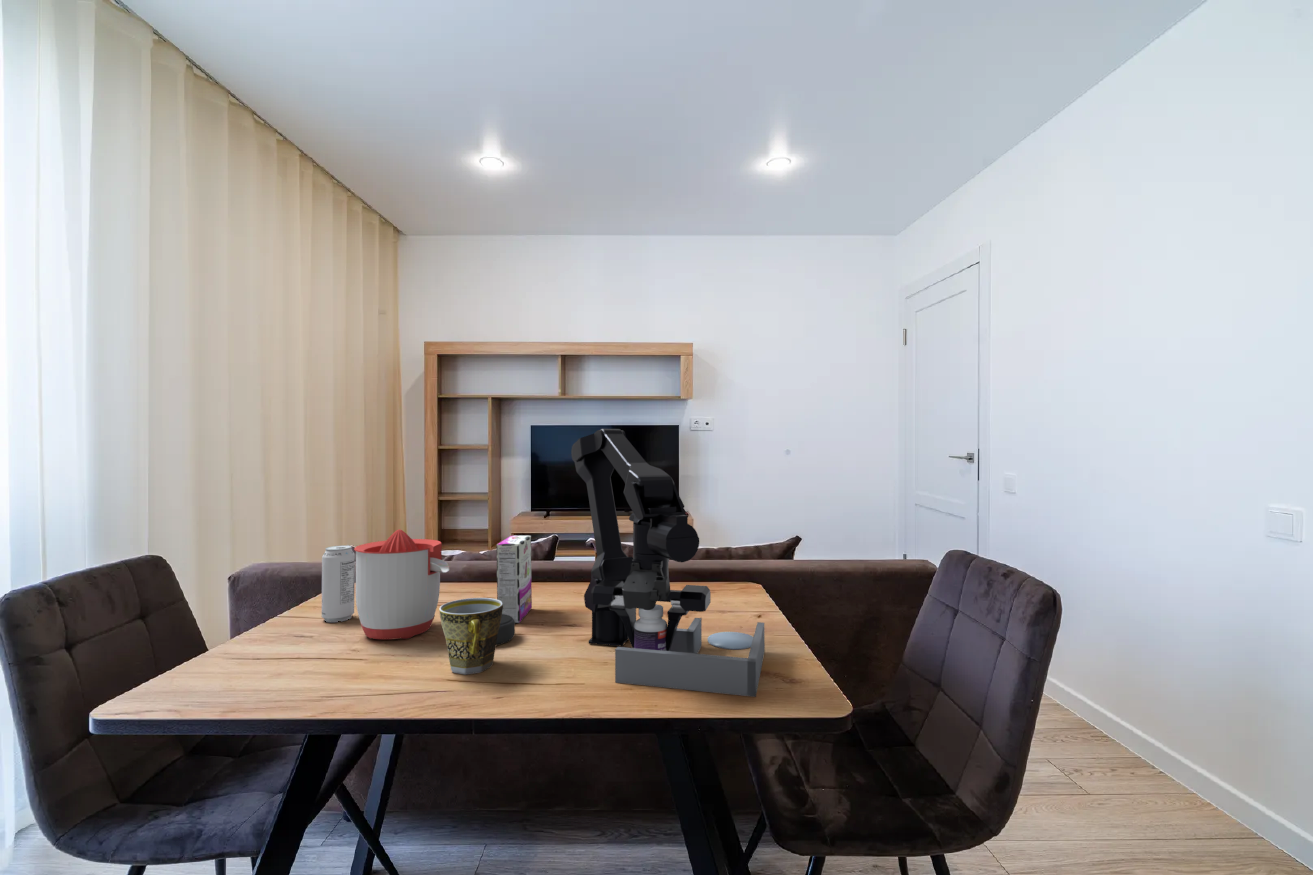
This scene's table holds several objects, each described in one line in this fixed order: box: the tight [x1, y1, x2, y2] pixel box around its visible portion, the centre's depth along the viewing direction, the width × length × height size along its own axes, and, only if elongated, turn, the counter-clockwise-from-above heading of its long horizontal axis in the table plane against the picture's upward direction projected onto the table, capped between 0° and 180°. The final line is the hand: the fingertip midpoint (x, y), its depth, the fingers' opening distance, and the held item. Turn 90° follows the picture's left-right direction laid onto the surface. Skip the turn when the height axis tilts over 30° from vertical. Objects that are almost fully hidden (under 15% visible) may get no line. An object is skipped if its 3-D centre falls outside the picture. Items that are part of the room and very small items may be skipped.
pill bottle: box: [634, 603, 668, 651], centre depth 93 cm, size 5×5×10 cm
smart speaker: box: [496, 614, 516, 646], centre depth 108 cm, size 9×9×4 cm
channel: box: [614, 617, 766, 698], centre depth 95 cm, size 21×19×5 cm
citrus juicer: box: [353, 528, 450, 640], centre depth 113 cm, size 16×17×20 cm
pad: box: [707, 631, 754, 651], centre depth 107 cm, size 9×9×1 cm
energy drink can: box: [321, 545, 356, 623], centre depth 121 cm, size 6×6×15 cm
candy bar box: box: [496, 534, 533, 624], centre depth 123 cm, size 11×5×16 cm, turn 179°
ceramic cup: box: [438, 597, 503, 676], centre depth 93 cm, size 13×10×10 cm
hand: (650, 648), depth 93 cm, fingers closed on pill bottle, 5 cm apart
